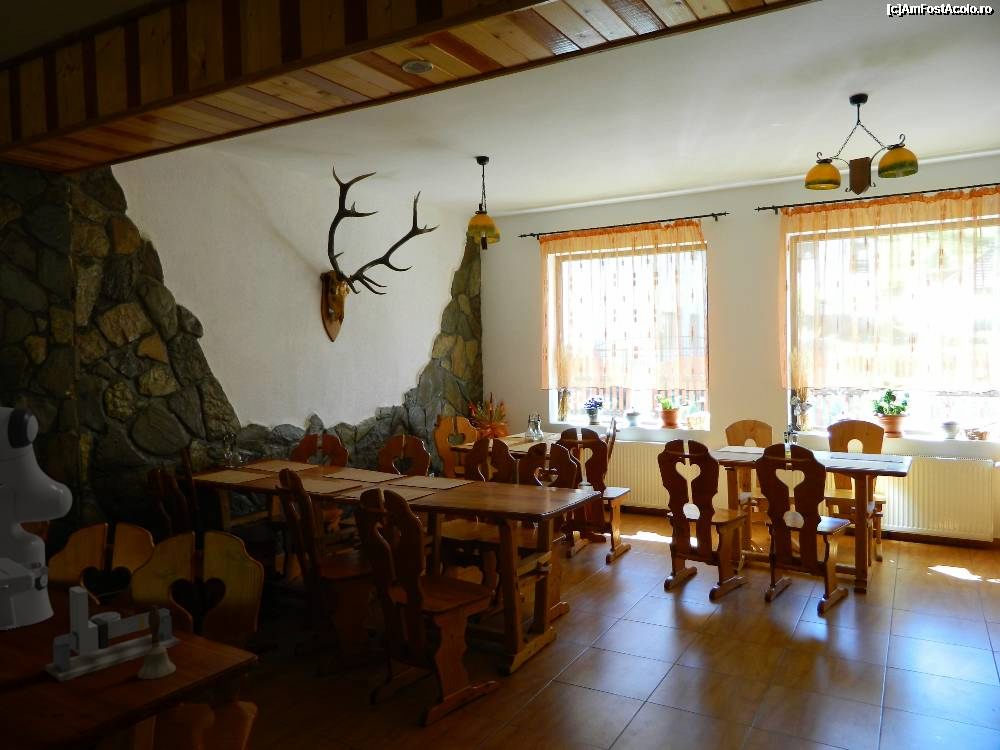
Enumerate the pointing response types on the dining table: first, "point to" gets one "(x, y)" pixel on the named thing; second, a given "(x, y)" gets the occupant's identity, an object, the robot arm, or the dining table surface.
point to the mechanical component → (107, 616)
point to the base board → (108, 657)
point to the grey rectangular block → (82, 622)
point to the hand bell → (155, 652)
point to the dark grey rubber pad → (102, 632)
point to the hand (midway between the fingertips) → (44, 567)
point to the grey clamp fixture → (109, 635)
